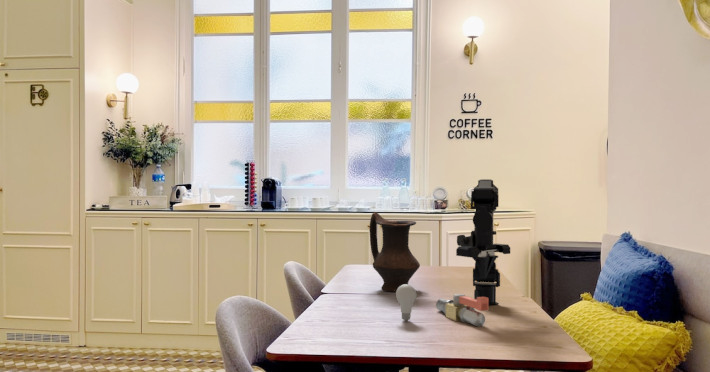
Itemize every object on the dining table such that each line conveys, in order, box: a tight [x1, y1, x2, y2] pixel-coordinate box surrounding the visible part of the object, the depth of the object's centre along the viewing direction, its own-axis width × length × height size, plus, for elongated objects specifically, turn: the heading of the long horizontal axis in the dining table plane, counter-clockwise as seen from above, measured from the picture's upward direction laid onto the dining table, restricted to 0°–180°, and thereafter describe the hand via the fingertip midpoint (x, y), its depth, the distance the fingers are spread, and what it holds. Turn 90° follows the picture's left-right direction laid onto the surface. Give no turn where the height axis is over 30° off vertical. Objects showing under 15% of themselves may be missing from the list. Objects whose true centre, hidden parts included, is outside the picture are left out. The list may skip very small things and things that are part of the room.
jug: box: [369, 212, 421, 293], centre depth 219 cm, size 21×18×30 cm
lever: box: [452, 293, 489, 312], centre depth 165 cm, size 15×4×4 cm, turn 22°
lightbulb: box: [395, 283, 417, 322], centre depth 166 cm, size 6×6×11 cm
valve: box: [435, 297, 486, 327], centre depth 170 cm, size 6×22×5 cm, turn 20°
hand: (483, 278), depth 172 cm, fingers closed
